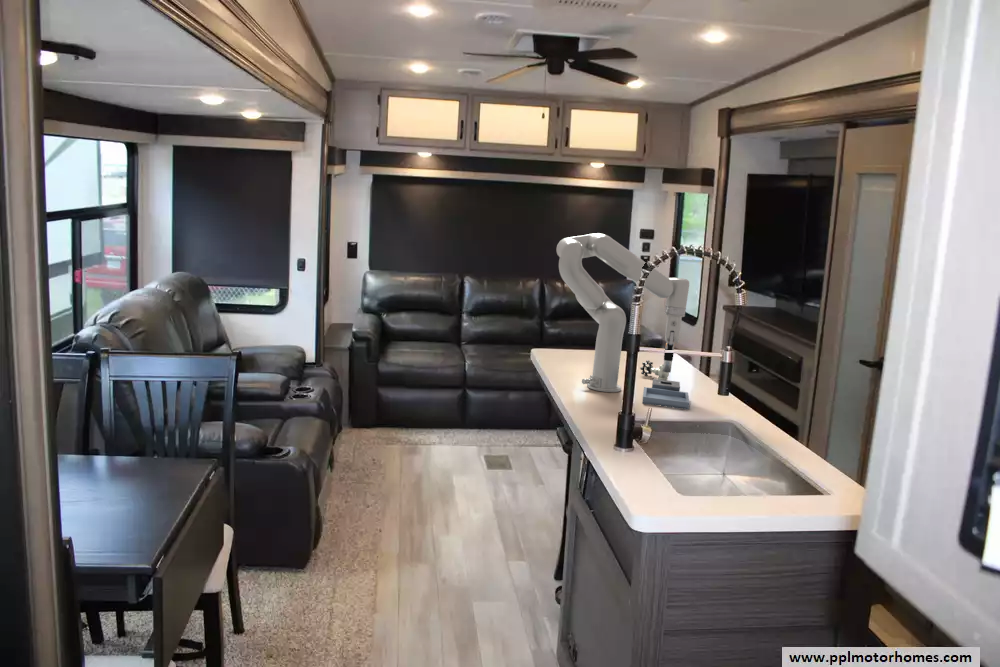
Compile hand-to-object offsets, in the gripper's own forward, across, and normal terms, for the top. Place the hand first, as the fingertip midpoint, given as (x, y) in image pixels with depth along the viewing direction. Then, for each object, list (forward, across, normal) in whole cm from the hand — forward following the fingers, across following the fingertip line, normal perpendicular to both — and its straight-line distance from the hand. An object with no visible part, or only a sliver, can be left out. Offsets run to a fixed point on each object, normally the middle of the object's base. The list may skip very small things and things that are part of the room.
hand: (668, 359), depth 313 cm
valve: (+13, +22, +3) cm, 26 cm away
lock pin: (+5, 0, 0) cm, 5 cm away
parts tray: (+13, -15, -1) cm, 20 cm away
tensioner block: (+13, 0, -1) cm, 13 cm away
